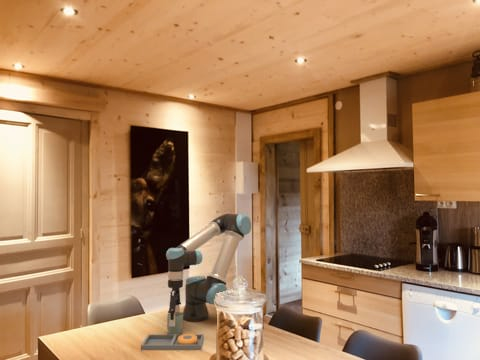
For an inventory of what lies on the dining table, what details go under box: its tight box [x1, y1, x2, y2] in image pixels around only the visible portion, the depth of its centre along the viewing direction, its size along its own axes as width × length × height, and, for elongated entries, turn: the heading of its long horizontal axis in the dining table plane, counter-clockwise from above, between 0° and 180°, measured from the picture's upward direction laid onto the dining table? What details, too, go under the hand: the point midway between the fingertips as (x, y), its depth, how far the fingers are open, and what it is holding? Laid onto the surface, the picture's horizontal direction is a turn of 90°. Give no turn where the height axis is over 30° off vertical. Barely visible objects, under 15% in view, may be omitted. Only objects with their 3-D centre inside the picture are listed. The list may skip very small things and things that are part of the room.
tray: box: [140, 333, 205, 351], centre depth 181 cm, size 27×14×2 cm, turn 90°
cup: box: [166, 311, 184, 334], centre depth 196 cm, size 8×8×10 cm
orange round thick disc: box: [178, 333, 197, 345], centre depth 181 cm, size 9×9×3 cm
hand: (174, 321), depth 195 cm, fingers open, 13 cm apart
